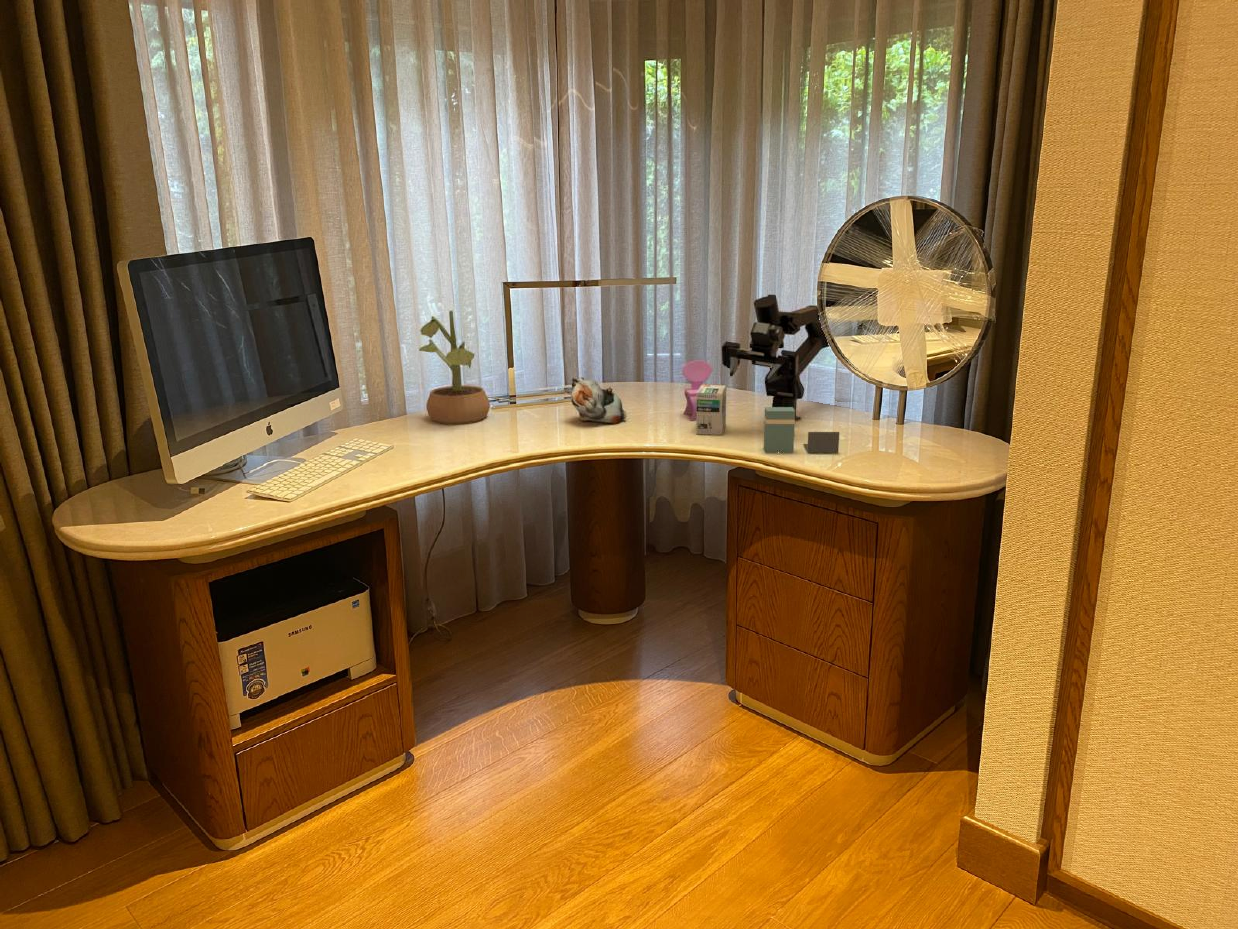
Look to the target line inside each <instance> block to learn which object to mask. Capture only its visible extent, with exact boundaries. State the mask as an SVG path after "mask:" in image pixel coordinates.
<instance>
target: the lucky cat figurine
mask: <svg viewBox="0 0 1238 929" xmlns="http://www.w3.org/2000/svg"><path fill="white" fill-rule="evenodd" d="M571 380H572V382H571V383H572V384H571V386H572V392H571V394H570V397H571V405H572V406H573V407H574V408H575V409H576V411H577V412H578V414H579V415H578V416H579V419H580V422H587V421H591V422H598V423H599V422H600V423H606V424H612V425H616V424H620V423H622V422H623V421H624V420H626V419H627V412H626V410H624V409H623V404H622V400H621V398H620V397H619V395H618V394H616V393H615V392H613V388H612V387H611V386H607V387H606V389H604V388H602V387H601V385H600V384H599V383H598V382H597V381H596V380H594V379H585V378H584V377H582V376H580V377H578V378H577V379H576V378H572V379H571Z"/></svg>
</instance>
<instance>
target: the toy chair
mask: <svg viewBox="0 0 1238 929" xmlns="http://www.w3.org/2000/svg"><path fill="white" fill-rule="evenodd" d="M681 373H682V375H683V376H684V378H686V379H687V381H689V382H691V385H690V386H691V388H684V397H685V399H686V406H685V409H684V411H683V415H691V418H690V420H689V421H690V422H695V421H694V420H696V419H697V391H698V390H699V388H700V386H701V385H704V384H703V383H704V382H705V381H707V380H708V379H709V378H710V376H711V375H712V373H713V367H712V365H711V364H710V363H708V362H706V361H704V360H698V359H697V360H691V361H690V362H687V363H685V364H684V365H683V367H682V369H681Z"/></svg>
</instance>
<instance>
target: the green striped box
mask: <svg viewBox="0 0 1238 929" xmlns="http://www.w3.org/2000/svg"><path fill="white" fill-rule="evenodd" d="M763 420H764V422H763V423H764V426H763V448H762V449H763V451H764V454H794V447H795V446H794V445H795V444H794V443H795V426H796V425H795V424H796V420H795V410H794V408H793V407H772V406H768V407H767V406H766V407H764V418H763ZM778 452H779V453H778Z"/></svg>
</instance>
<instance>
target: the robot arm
mask: <svg viewBox="0 0 1238 929" xmlns="http://www.w3.org/2000/svg"><path fill="white" fill-rule="evenodd" d="M817 306H818V305H814V304H813V305H812V304H811V305H810V304H809V305H807V306H806V307H802V308H800V309H796V310H793V311H781V310H780V309H779V304H778V300H777V295H776V294H768V295H767V296H762V297H760V298H758V299H755V300H754V301H753V308H754V312H755V318H756V322H754V323H753V325H752V328H751V331H750V334H749V335H750V339H751V341H750V342H749V349H751V350H749V349H744V348H741V343H739V342H733V341H728V340H727V341H725V342H723V344H722V346H721V361H722V363H721V364H722V365H723V366H724V367H726V368H727V369H729V377H733V376H734V375H735V373H736V372H737V371H738V369H739V367H740V364H741V360H745V361H751V365H753V366H760V367H766V368H769V371H768V372H767V374H766V375H765V377H764V386H765V395H766V397H772V403H771V407H793V408H794V410H795V421H799V420H801V418H802V417H801V416H797V404H798V403H797V402H798V400H801V399H803V397H804V395H805V388H804V385H803V384H802V382H801V379H800V378H801V377H800V376H801V374H803V372H804V370H806V368H808V366H809V365H810V364H811V363H812V361H813V360H814V359H815V357H816V356H817V355H818V354H819V352H821V350H822V349H826V348H828V347H830V346H829V345H828V342H827V339H826V337H825V334H824V332H823V330H822V328H821V323H820V320H819V315H818V307H817ZM801 327H804V329H805V331H806V334H807V338H806V339H805V340H804V341H803V342H802V343H801V344H800V346H799V347H798V348H797V349H796V350H795V351H794V350H786V349H784V347H785V342H784V339H785V335H790V336H795V335H796V334H797V333H799V332H800V331H801ZM779 349H782V350H781V351H780V354H778V355H777V352H778V350H779Z"/></svg>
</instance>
